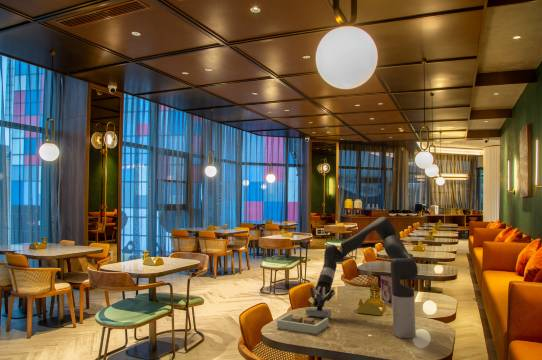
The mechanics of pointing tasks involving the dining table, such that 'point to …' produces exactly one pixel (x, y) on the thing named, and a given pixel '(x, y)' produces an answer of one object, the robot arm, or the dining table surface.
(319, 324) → the tray
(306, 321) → the walnut block
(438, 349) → the dining table surface
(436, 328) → the dining table surface
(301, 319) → the walnut block
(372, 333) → the dining table surface
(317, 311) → the scraper
